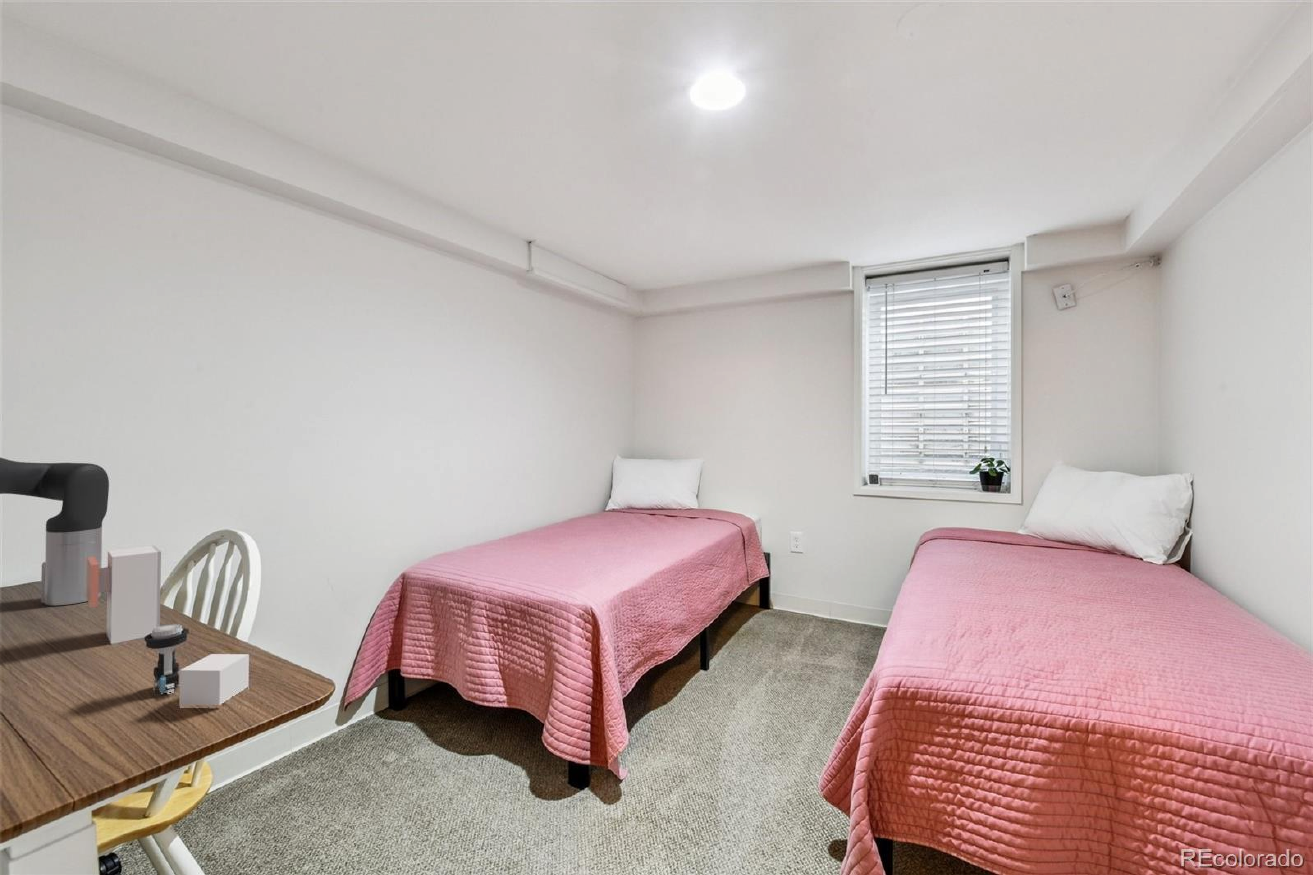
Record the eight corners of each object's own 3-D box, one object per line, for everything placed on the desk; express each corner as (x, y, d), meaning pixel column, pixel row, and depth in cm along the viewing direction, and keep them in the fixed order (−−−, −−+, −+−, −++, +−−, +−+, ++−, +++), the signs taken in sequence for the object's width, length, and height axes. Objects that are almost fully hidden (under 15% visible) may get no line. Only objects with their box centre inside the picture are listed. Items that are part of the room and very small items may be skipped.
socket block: (110, 644, 104) (112, 557, 104) (106, 633, 109) (107, 550, 109) (159, 634, 110) (161, 551, 109) (153, 624, 115) (154, 545, 115)
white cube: (219, 710, 81) (220, 670, 81) (179, 709, 81) (179, 670, 81) (248, 690, 87) (249, 654, 87) (211, 690, 87) (211, 653, 87)
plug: (90, 607, 102) (91, 565, 102) (86, 597, 107) (87, 557, 107) (144, 598, 107) (145, 558, 107) (138, 589, 113) (138, 551, 113)
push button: (192, 691, 86) (193, 629, 86) (147, 703, 82) (148, 638, 82) (184, 678, 91) (185, 619, 91) (141, 689, 87) (142, 627, 87)
